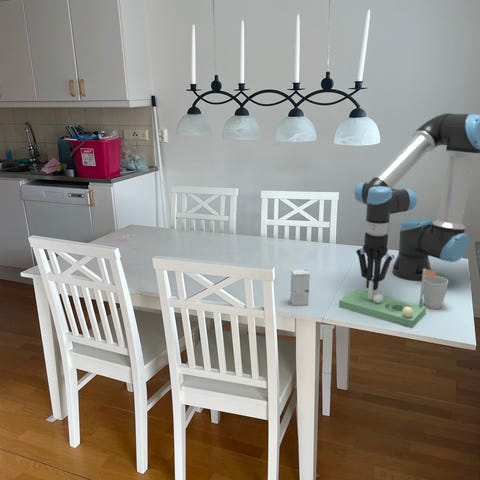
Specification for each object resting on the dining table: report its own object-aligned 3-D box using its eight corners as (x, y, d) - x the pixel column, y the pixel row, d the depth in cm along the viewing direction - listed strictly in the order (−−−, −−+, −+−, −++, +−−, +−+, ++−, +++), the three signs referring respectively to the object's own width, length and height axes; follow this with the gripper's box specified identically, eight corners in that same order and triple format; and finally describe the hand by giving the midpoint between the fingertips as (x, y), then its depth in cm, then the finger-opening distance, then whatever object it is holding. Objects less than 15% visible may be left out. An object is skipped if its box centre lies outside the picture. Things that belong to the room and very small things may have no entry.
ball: (385, 293, 168) (383, 302, 169) (376, 290, 170) (374, 299, 171) (381, 296, 166) (379, 305, 167) (372, 293, 168) (370, 302, 169)
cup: (439, 300, 176) (442, 275, 173) (449, 310, 168) (452, 283, 165) (416, 301, 175) (419, 275, 172) (425, 311, 168) (428, 284, 165)
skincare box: (292, 305, 173) (292, 274, 170) (289, 300, 177) (290, 269, 174) (309, 305, 174) (310, 273, 170) (306, 299, 178) (307, 269, 174)
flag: (419, 306, 166) (423, 268, 161) (431, 309, 163) (435, 270, 159) (418, 307, 165) (422, 268, 161) (430, 310, 163) (435, 271, 158)
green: (339, 306, 172) (339, 300, 171) (355, 294, 182) (355, 288, 181) (411, 327, 156) (412, 320, 156) (425, 313, 166) (426, 306, 165)
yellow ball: (403, 313, 161) (404, 303, 160) (414, 315, 159) (415, 306, 158) (400, 316, 158) (401, 307, 157) (410, 319, 156) (411, 310, 155)
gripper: (353, 232, 164) (349, 296, 171) (390, 239, 156) (384, 305, 163) (363, 227, 170) (359, 289, 177) (399, 233, 162) (393, 298, 169)
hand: (371, 297), depth 170 cm, fingers closed
